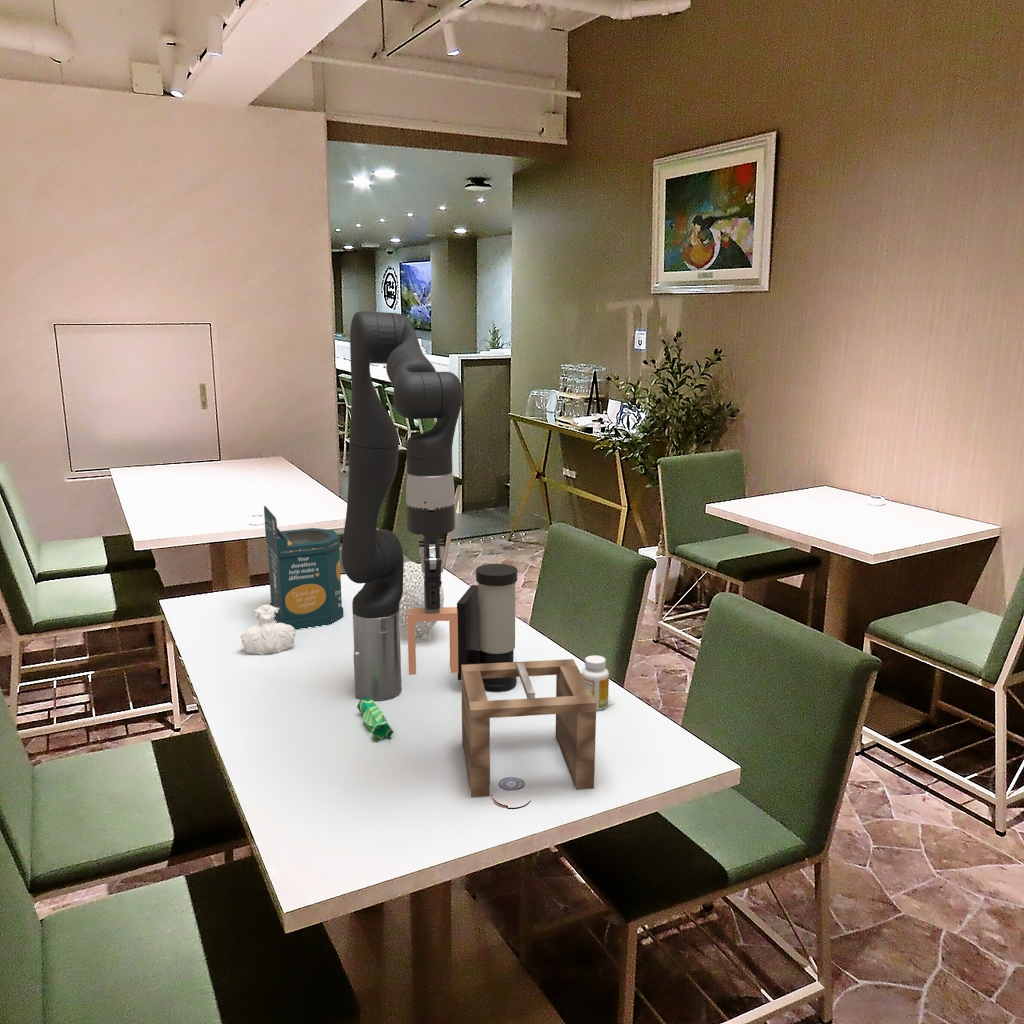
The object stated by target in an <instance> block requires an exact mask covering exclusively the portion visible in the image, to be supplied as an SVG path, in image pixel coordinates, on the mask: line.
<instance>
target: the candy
mask: <svg viewBox="0 0 1024 1024" xmlns="http://www.w3.org/2000/svg"><path fill="white" fill-rule="evenodd" d="M356 708H357V709H358V711H359V712H360V714H361V715H362V718H363V721H364V722H365V725H366V726H367V728H368V730H369V731H370V732H371V734H372V735H373V736H374V738H375V740H377V742H378V743H379V742H381V741H382V739H384V737H385V738H386V739H388V740H390V738H391V737H392V736H393V733H394V730H393V729H392V728H391V726H390V724H389V723H388V721H387V719H386V717H385V715H384V713H383V712H382V710H381V708H380V707H379V706H378V705H377V704H376V702H375V700H372V698H360V700H359V702H358V704H357V705H356Z"/></svg>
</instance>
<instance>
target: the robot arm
mask: <svg viewBox="0 0 1024 1024" xmlns="http://www.w3.org/2000/svg"><path fill="white" fill-rule="evenodd" d="M349 331H350V332H349V333H350V334H349V347H350V348H349V349H350V350H349V355H350V383H351V385H350V386H351V387H350V388H351V399H350V400H351V402H350V403H351V407H350V423H349V439H348V442H349V444H348V485H347V504H346V512H345V513H346V514H345V521H344V527H343V529H344V530H343V536H342V543H341V563H342V567H343V571H344V573H345V575H346V577H348V579H349V580H350V581H352V582H353V583H356V584H364V585H363V587H362V588H361V589H360V590H359V591H358V592H357V593H356V594H355V596H353V598H352V603H351V604H352V609H351V610H352V627H353V628H352V631H353V632H352V633H353V673H354V675H353V676H354V677H353V678H354V698H355V699H362V698H372V700H373V701H382V700H383V701H385V700H388V699H392V698H394V697H396V696H398V695H399V694H400V693H401V692H402V683H403V682H402V660H401V659H402V655H401V623H400V618H399V603H400V602H401V601H400V600H401V598H402V594H403V586H404V585H403V572H404V563H405V562H404V561H405V559H404V552H403V546H402V543H401V541H400V539H399V538H398V536H397V535H396V534H395V532H392V531H391V530H389V529H377V527H378V521H379V520H378V518H379V514H380V510H381V508H382V505H383V504H384V501H385V499H386V497H387V495H388V493H389V491H390V489H391V486H392V485H393V482H394V480H395V477H396V474H397V471H398V466H399V464H398V463H399V449H400V448H399V446H400V437H399V432H398V429H397V427H396V425H395V424H394V422H393V419H392V417H391V416H390V414H389V413H388V412H387V409H386V408H385V406H384V404H383V403H382V401H381V399H380V398H379V395H378V394H377V391H376V388H375V387H374V384H373V381H372V375H371V364H377V365H378V364H382V365H383V364H384V365H386V366H385V367H386V368H385V369H386V370H385V371H386V375H387V378H388V379H389V381H390V383H391V385H392V386H393V397H392V398H393V404H394V408H395V410H396V412H397V414H399V416H401V417H403V418H405V419H409V420H421V419H423V420H425V419H436V421H435V423H434V425H433V426H432V427H431V429H429V430H426V431H424V432H420V433H417V434H414V435H411V436H410V437H408V439H407V441H406V472H407V473H406V482H405V484H406V485H405V495H406V496H405V499H406V500H405V501H406V504H405V505H406V528H407V531H408V532H410V534H415V535H422V536H423V539H422V540H421V539H420V540H418V553H419V556H420V566H421V570H422V573H423V574H424V579H425V582H424V583H423V584H424V585H425V588H426V608H427V609H428V610H438V609H439V608H440V587H441V585H443V583H442V573H443V572H444V555H445V540H444V539H440V536H441V535H443V534H445V535H446V534H449V533H451V532H453V531H454V530H455V529H456V509H455V508H456V507H455V506H456V503H455V483H454V475H453V444H454V438H455V432H456V426H457V423H458V419H459V416H460V413H461V412H460V411H461V408H462V404H463V399H464V388H463V385H462V383H461V380H460V379H459V377H458V376H457V375H456V374H454V373H453V372H451V371H437V370H436V368H435V367H434V365H433V364H432V363H431V361H430V360H429V359H428V358H427V357H426V355H425V354H424V353H423V351H422V348H421V344H420V342H419V338H418V336H417V334H416V330H415V328H414V326H413V324H412V321H411V320H410V318H408V317H407V316H406V315H404V314H401V313H397V312H387V311H386V312H382V311H366V310H365V311H363V310H362V311H361V310H360V311H356V312H355V313H354V315H353V316H352V319H351V323H350V330H349ZM402 599H403V598H402Z"/></svg>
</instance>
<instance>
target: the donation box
mask: <svg viewBox="0 0 1024 1024" xmlns="http://www.w3.org/2000/svg"><path fill="white" fill-rule="evenodd" d="M263 513H264V514H263V515H264V528H265V529H264V532H265V533H264V534H265V543H266V544H267V559H268V572H269V573H268V574H269V576H268V577H269V592H270V602H269V605H271V606H273V607H276V608H280V609H279V610H278V613H276V612H275V616H276V617H274V618H275V619H274V618H273V619H274V621H275V620H276V621H277V622H276V621H275V622H276V623H284V624H286V625H291V626H292V627H293V628H294V629H299V630H301V629H300V628H306V629H309V628H308V627H312V628H316V627H315V626H319V627H323V626H322V625H327V626H332V625H333V624H335V623H337V622H338V621H340V620H341V619H343V618H344V615H345V614H344V608H343V605H342V604H343V603H342V602H343V601H342V580H341V579H342V577H341V556H340V555H341V554H340V552H341V551H340V548H341V547H342V543H341V536H340V535H339V534H338V533H337V532H336V531H334V530H333V529H326V528H325V529H324V528H315V527H308V528H298V529H291V530H290V529H289V530H280V529H279V528H278V521H277V517H276V516H275V515H274V514H273V513H272V512H271V510H269V508H268V507H267V505H264V506H263ZM342 617H343V618H342ZM337 620H338V621H337ZM334 622H335V623H334ZM332 623H333V624H332ZM329 624H330V625H329ZM331 624H332V625H331Z"/></svg>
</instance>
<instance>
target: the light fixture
mask: <svg viewBox="0 0 1024 1024" xmlns="http://www.w3.org/2000/svg"><path fill="white" fill-rule="evenodd" d="M475 581H476V583H477V585H475V584H472V585H470V586H469V588H468V589H467V590H466V591H465V593H463V595H462V596H461V597H460V598H459V600H458V601H457V602H456V607H457V613H458V673H457V680H458V681H461V665H468V664H488V663H507V662H515V660H514V653H515V652H514V651H515V648H516V582H518V567H516V566H514V565H511V564H506V563H489V564H488V563H487V564H482V565H480V566H478V567H476V568H475ZM517 678H518V677H506V678H487V679H482V680H483V684H484V688H485V692H491V693H501V692H502V693H503V692H509V691H511V690H512V689H515V687H516V686H517V681H518V680H517Z"/></svg>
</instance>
